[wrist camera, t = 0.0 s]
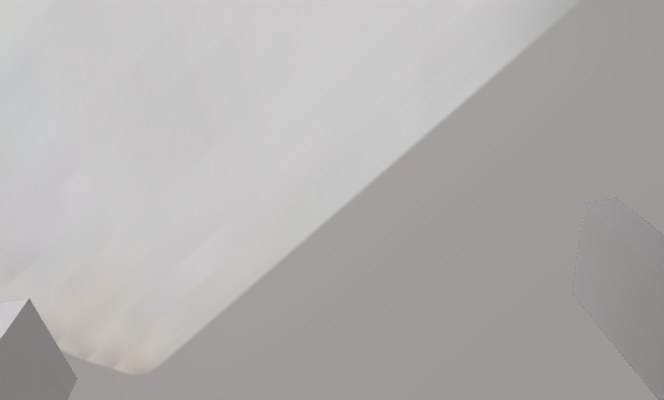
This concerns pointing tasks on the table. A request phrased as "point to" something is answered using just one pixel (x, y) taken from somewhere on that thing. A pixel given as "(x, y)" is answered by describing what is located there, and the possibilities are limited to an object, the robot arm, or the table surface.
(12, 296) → the table surface
